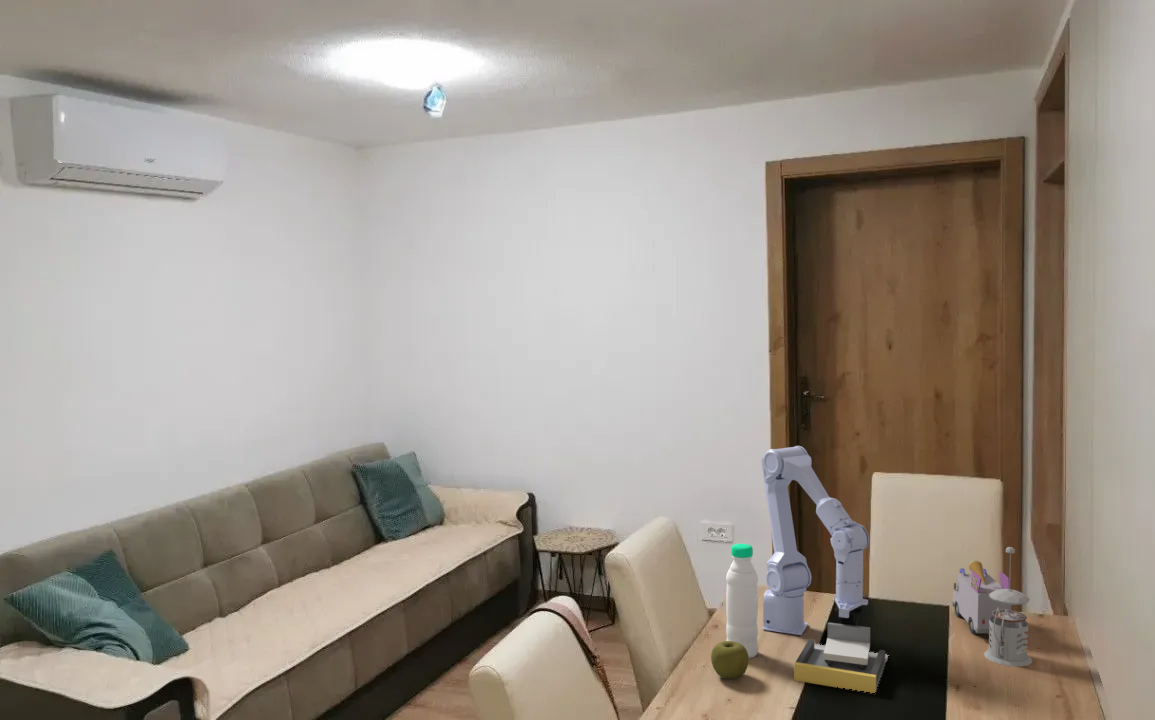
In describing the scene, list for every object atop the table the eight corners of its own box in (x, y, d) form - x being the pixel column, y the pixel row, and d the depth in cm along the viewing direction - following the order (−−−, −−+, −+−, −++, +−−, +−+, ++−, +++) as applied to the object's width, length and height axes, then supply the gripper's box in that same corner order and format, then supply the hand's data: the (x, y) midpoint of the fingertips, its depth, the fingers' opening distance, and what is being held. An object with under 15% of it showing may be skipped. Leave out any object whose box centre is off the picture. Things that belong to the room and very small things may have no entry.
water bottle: (761, 650, 211) (761, 543, 209) (753, 662, 204) (753, 551, 202) (730, 646, 214) (730, 539, 212) (722, 657, 207) (722, 547, 205)
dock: (794, 683, 195) (794, 664, 194) (815, 646, 215) (815, 628, 214) (875, 697, 188) (875, 677, 187) (889, 657, 208) (889, 639, 207)
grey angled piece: (823, 666, 198) (823, 638, 197) (827, 648, 207) (828, 622, 207) (867, 672, 195) (867, 643, 194) (869, 654, 204) (870, 627, 204)
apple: (704, 673, 199) (704, 641, 198) (736, 667, 202) (736, 635, 201) (723, 687, 192) (723, 653, 191) (755, 680, 195) (756, 647, 194)
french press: (1038, 656, 205) (1041, 546, 204) (1021, 673, 197) (1024, 558, 195) (992, 645, 212) (995, 538, 210) (973, 660, 204) (976, 549, 202)
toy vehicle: (986, 612, 233) (987, 554, 232) (1015, 642, 214) (1016, 578, 213) (948, 611, 234) (949, 553, 233) (973, 641, 215) (974, 577, 214)
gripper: (863, 591, 198) (862, 653, 199) (872, 572, 211) (871, 630, 212) (829, 587, 201) (828, 648, 202) (840, 568, 214) (840, 625, 215)
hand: (848, 638), depth 207 cm, fingers closed
